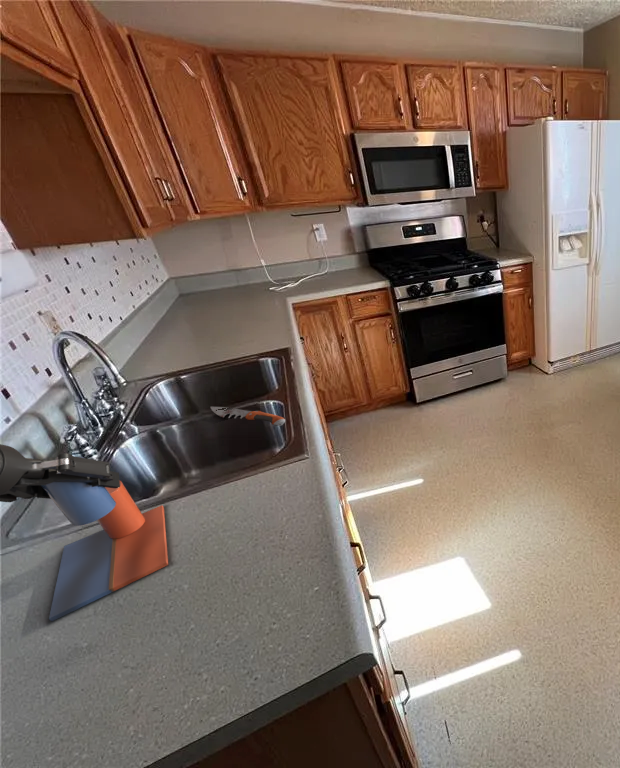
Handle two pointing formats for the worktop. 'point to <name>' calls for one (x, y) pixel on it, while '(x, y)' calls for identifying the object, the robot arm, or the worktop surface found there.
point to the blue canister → (80, 501)
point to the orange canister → (121, 514)
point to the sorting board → (108, 563)
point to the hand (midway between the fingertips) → (94, 486)
